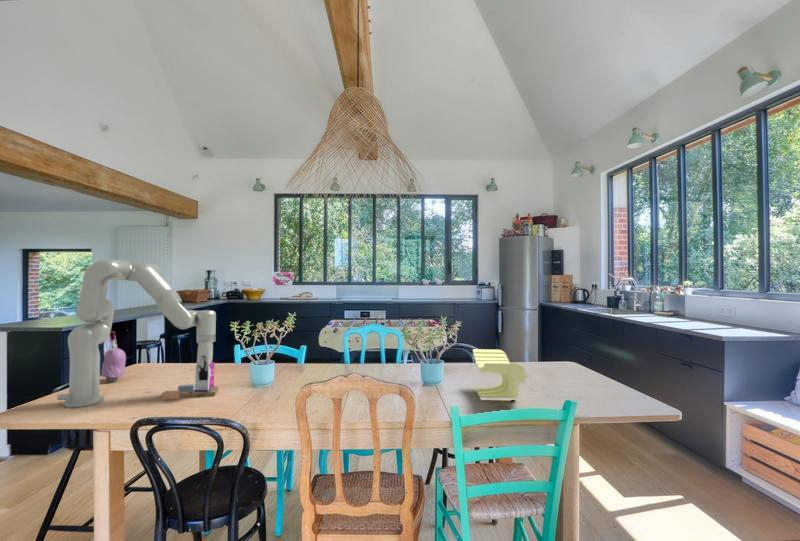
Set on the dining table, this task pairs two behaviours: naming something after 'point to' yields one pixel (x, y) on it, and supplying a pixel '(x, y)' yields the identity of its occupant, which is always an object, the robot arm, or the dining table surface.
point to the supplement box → (205, 384)
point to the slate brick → (186, 388)
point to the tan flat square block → (204, 393)
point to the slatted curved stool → (501, 365)
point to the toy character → (113, 363)
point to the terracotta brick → (170, 395)
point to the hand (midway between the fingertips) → (205, 377)
